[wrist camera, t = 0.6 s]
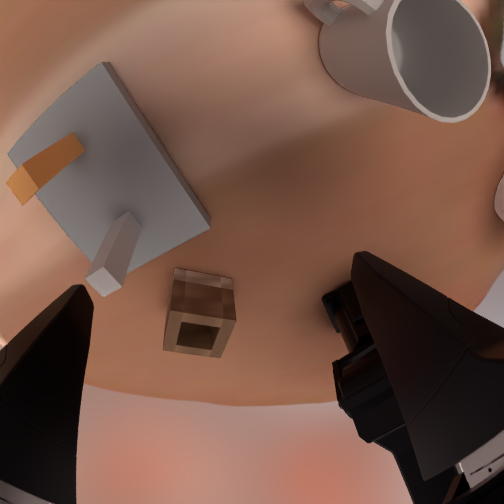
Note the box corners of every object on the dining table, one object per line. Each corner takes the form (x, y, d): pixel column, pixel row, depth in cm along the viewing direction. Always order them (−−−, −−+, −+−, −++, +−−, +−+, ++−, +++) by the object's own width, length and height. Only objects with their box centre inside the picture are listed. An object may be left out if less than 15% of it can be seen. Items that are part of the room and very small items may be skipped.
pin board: (210, 218, 22) (212, 289, 16) (114, 272, 24) (91, 343, 17) (108, 62, 15) (51, 62, 8) (17, 147, 16) (-47, 190, 10)
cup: (375, 114, 19) (455, 150, 12) (260, 38, 15) (297, 14, 8) (417, 48, 16) (504, 59, 8) (313, -33, 12) (374, -79, 5)
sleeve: (231, 278, 26) (236, 320, 22) (217, 316, 28) (220, 358, 24) (175, 267, 25) (170, 310, 20) (167, 308, 27) (162, 350, 23)
